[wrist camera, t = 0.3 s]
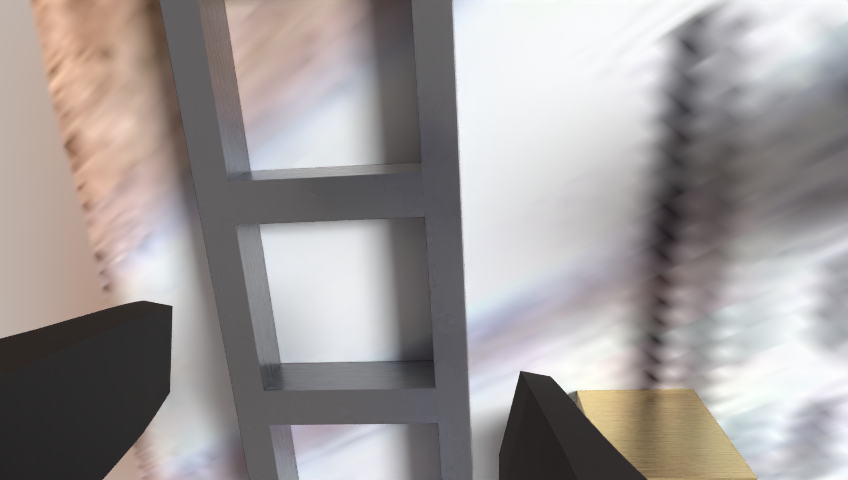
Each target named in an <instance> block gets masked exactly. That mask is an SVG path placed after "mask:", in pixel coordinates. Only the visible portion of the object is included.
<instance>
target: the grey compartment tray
mask: <svg viewBox="0 0 848 480" xmlns="http://www.w3.org/2000/svg"><path fill="white" fill-rule="evenodd" d="M411 4H412V19H413V35H414V51H415V67H416V83H417V99H418V115H419V130H420V146H421V162H419V163H399V164H380V165H360V166H340V167H320V168H300V169H280V170H261V171H251V170H250V164H249V157H248V151H247V144H246V138H245V132H244V125H243V119H242V112H241V106H240V99H239V93H238V87H237V80H236V74H235V67H234V61H233V54H232V48H231V42H230V35H229V29H228V22H227V16H226V10H225V3H224V0H160V6H161V11H162V16H163V22H164V27H165V32H166V38H167V43H168V48H169V54H170V59H171V64H172V70H173V75H174V80H175V86H176V91H177V96H178V102H179V107H180V112H181V118H182V123H183V128H184V134H185V139H186V144H187V150H188V155H189V160H190V166H191V171H192V176H193V182H194V187H195V192H196V198H197V203H198V208H199V214H200V219H201V224H202V230H203V235H204V240H205V246H206V251H207V256H208V262H209V267H210V272H211V278H212V283H213V288H214V293H215V299H216V304H217V309H218V315H219V320H220V325H221V331H222V336H223V341H224V347H225V352H226V357H227V363H228V368H229V373H230V379H231V384H232V389H233V395H234V400H235V405H236V411H237V416H238V421H239V427H240V432H241V437H242V443H243V448H244V453H245V459H246V464H247V469H248V475H249V480H299V478H298V472H297V465H296V459H295V453H294V446H293V440H292V433H291V427H290V425H316V424H422V423H438V432H439V448H440V463H441V479H442V480H473V461H472V438H471V414H470V390H469V367H468V343H467V320H466V296H465V273H464V249H463V226H462V202H461V179H460V155H459V131H458V108H457V84H456V61H455V37H454V14H453V0H411ZM410 217H425V226H426V241H427V257H428V273H429V289H430V305H431V321H432V337H433V352H434V361H394V362H342V363H290V364H281V363H280V356H279V350H278V343H277V337H276V331H275V324H274V318H273V311H272V305H271V298H270V292H269V286H268V279H267V273H266V266H265V260H264V254H263V247H262V241H261V234H260V228H259V224H266V223H290V222H314V221H338V220H362V219H386V218H410Z"/></svg>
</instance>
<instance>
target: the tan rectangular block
mask: <svg viewBox="0 0 848 480" xmlns="http://www.w3.org/2000/svg"><path fill="white" fill-rule="evenodd" d="M577 407H578V408H579V409H580V410H581V411H582V412H583V413H584V415H585V416H586V417H587V418H588V419H589V420H590V421H591V422H592V424H593V425H594V426H595V427H596V428H597V429H598V430H599V431H600V432H601V433H602V434H603V436H604V437H605V438H606V439H607V440H608V441H609V442H610V443H611V444H612V445H613V446H614V447H615V448H616V449H617V450H618V451H619V452H620V453H621V454H622V455H623V456H624V457H625V458H626V459H627V460H628V461H629V462H630V463H631V464H632V465H633V466H634V467H635V468H636V469H637V470H638V471H639V472H640V473H641V474H642V475H643V476H644V477H645V478H647V479H648V480H757V477H756V476H755V474H754V473H753V471H752V470H751V469H750V467H749V466H748V464H747V463H746V462H745V460H744V459H743V458H742V456H741V455H740V453H739V452H738V451H737V449H736V448H735V446H734V445H733V444H732V442H731V441H730V439H729V438H728V437H727V435H726V434H725V433H724V431H723V430H722V428H721V427H720V426H719V424H718V423H717V421H716V420H715V419H714V417H713V416H712V414H711V413H710V412H709V410H708V409H707V408H706V406H705V405H704V403H703V402H702V401H701V399H700V398H699V396H698V395H697V394H696V392H695V391H694V389H655V390H585V391H577Z"/></svg>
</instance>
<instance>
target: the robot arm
mask: <svg viewBox="0 0 848 480" xmlns="http://www.w3.org/2000/svg"><path fill="white" fill-rule="evenodd" d="M171 339H172V306H169V305H164V304H159V303H153V302H148V301H139V302H133V303H128V304H124V305H120V306H116V307H112V308H108V309H105V310H101V311H98V312H95V313H91V314H87V315H84V316H81V317H77V318H74V319H70V320H67V321H63V322H60V323H57V324H53V325H50V326H46V327H43V328H39V329H36V330H32V331H28V332H24V333H20V334H16V335H13V336H9V337H5V338H1V339H0V480H102V479H104V477H105V476H106V475H107V474H108V473H109V472H110V471H111V470H112V468H113V467H114V466H115V465H116V464H117V463H118V462H119V460H120V459H121V458H122V457H123V456H124V455H125V453H126V452H127V451H128V450H129V449H130V448H131V447H132V445H133V444H134V443H135V442H136V441H137V440H138V438H139V437H140V436H141V435H142V434H143V432H144V431H145V429H146V428H147V426H148V425H149V424H150V422H151V421H152V419H153V418H154V416H155V415H156V413H157V412H158V410H159V409H160V407H161V405H162V404H163V402H164V401H165V399H166V398H167V396H168V394H169V393H170V371H171ZM499 480H648V479H647V478H645V477H644V476H643V475H642V474H641V473H640V472H639V471H638V470H637V469H636V468H635V467H634V466H633V465H632V464H631V463H630V462H629V461H628V460H627V459H626V458H625V457H624V456H623V455H622V454H621V453H620V452H619V451H618V450H617V449H616V448H615V447H614V446H613V445H612V444H611V443H610V442H609V441H608V440H607V439H606V438H605V437H604V436H603V434H602V433H601V432H600V431H599V430H598V429H597V428H596V427H595V426H594V425H593V424H592V422H591V421H590V420H589V419H588V418H587V417H586V416H585V415H584V413H583V412H582V411H581V410H580V409H579V408H578V407H577V405H576V404H575V403H574V402H573V401H572V400H571V399H570V397H569V396H568V395H567V394H566V393H565V392H564V391H563V389H562V388H561V387H560V386H559V385H558V384H557V383H556V382H555V381H554V380H553V379H552V378H551V377H550V376H545V375H540V374H534V373H529V372H523V371H520V375H519V379H518V383H517V386H516V390H515V394H514V398H513V402H512V406H511V410H510V414H509V418H508V422H507V426H506V430H505V434H504V438H503V442H502V446H501V450H500V454H499Z"/></svg>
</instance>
